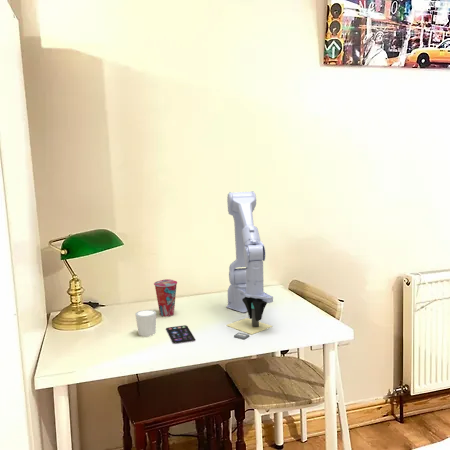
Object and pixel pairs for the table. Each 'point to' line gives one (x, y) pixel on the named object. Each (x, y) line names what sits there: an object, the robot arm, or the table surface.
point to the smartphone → (180, 334)
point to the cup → (166, 296)
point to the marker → (254, 322)
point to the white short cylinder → (146, 322)
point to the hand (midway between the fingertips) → (255, 319)
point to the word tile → (241, 336)
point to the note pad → (248, 326)
